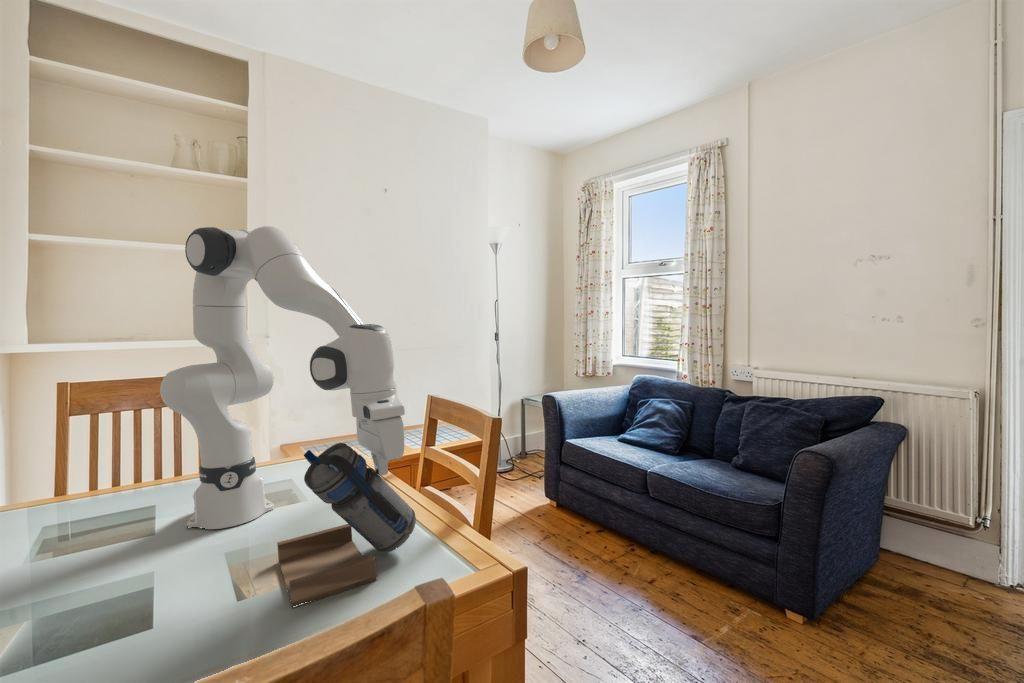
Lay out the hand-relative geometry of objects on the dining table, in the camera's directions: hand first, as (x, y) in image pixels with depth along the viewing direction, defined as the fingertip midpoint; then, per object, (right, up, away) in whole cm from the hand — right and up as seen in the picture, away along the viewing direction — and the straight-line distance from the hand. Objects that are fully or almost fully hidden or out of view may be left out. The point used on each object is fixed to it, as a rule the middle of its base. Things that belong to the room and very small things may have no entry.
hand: (381, 473), depth 95 cm
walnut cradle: (-9, -17, -5) cm, 20 cm away
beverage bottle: (+3, -13, +3) cm, 14 cm away
